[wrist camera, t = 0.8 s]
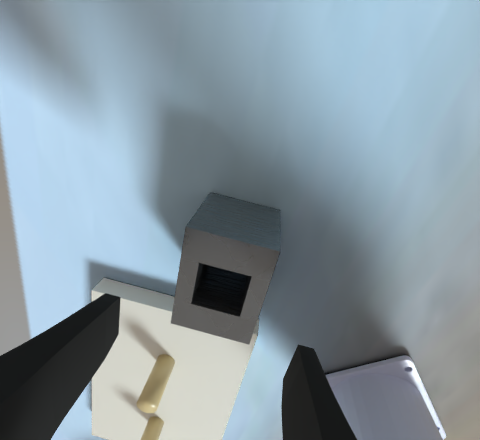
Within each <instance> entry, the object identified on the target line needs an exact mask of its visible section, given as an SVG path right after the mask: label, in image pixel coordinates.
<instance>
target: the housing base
mask: <svg viewBox="0 0 480 440" xmlns="http://www.w3.org/2000/svg"><path fill="white" fill-rule="evenodd" d="M105 293H107V294H111V295H115V296H118V297H121V298H120V317H119V334H118V336H117V338H116V340H115V342H114V344H113V346H112V348H111V349H110V351H109V353H108V355H107V356H106V358H105V360H104V361H103V363H102V364H101V366H100V367H99V369H98V370H97V372H96V373H95V374H94V376H93V377H92V435H94V436H97V437H101V438H104V439H108V440H222V438H223V435H224V432H225V429H226V426H227V423H228V420H229V417H230V415H231V412H232V409H233V406H234V403H235V400H236V397H237V394H238V391H239V388H240V385H241V383H242V380H243V377H244V374H245V371H246V368H247V365H248V362H249V359H250V356H251V353H252V351H253V348H254V345H255V342H256V339H257V336H258V328H259V319H258V320H257V323H256V326H255V329H254V332H253V335H252V338H251V341H250V344H249V345H248V344H245V343H241V342H237V341H234V340H230V339H226V338H223V337H219V336H215V335H212V334H208V333H204V332H201V331H197V330H193V329H189V328H186V327H182V326H178V325H175V324H171V317H172V311H173V305H174V298H175V297H174V296H170V295H167V294H163V293H159V292H155V291H152V290H148V289H144V288H141V287H137V286H133V285H129V284H126V283H122V282H118V281H114V280H111V279H107V278H103V279H102V280H101V281H100V282H99V283H98V284H97V285H96V286H95V287H94V288H93V289H92V301H94V300H96V299H97V298H99V297H100V296H102V295H103V294H105Z"/></svg>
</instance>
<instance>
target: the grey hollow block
mask: <svg viewBox="0 0 480 440" xmlns="http://www.w3.org/2000/svg"><path fill="white" fill-rule="evenodd" d="M279 254H280V210H277V209H273V208H269V207H265V206H261V205H258V204H254V203H250V202H246V201H242V200H238V199H234V198H230V197H227V196H223V195H219V194H215V193H211V192H210V194H209V195H208V196H207V198H206V199H205V201H204V202H203V203H202V205H201V206H200V208H199V209H198V210H197V212H196V213H195V215H194V216H193V217H192V219H191V220H190V222H189V223H188V224H187V226H186V229H185V235H184V241H183V248H182V254H181V260H180V267H179V273H178V279H177V286H176V292H175V298H174V305H173V311H172V317H171V324H175V325H178V326H182V327H186V328H189V329H193V330H197V331H201V332H204V333H208V334H212V335H215V336H219V337H223V338H226V339H230V340H234V341H237V342H241V343H245V344H248V345H249V344H250V341H251V338H252V335H253V332H254V329H255V326H256V323H257V320H258V317H259V314H260V311H261V308H262V305H263V302H264V299H265V296H266V293H267V290H268V287H269V284H270V281H271V278H272V275H273V272H274V269H275V266H276V263H277V260H278V257H279Z"/></svg>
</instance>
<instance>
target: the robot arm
mask: <svg viewBox="0 0 480 440" xmlns="http://www.w3.org/2000/svg"><path fill="white" fill-rule="evenodd" d="M120 298H121V297H118V296H115V295H111V294H107V293H105V294H103V295H102V296H100V297H99V298H97V299H96V300H94V301H92V302H91V303H89V304H88V305H86V306H85V307H83V308H82V309H80V310H79V311H77V312H75V313H74V314H72V315H71V316H69V317H68V318H66V319H64V320H63V321H61V322H59V323H58V324H56V325H55V326H53V327H51V328H50V329H48V330H46V331H45V332H43V333H41V334H39V335H38V336H36V337H34V338H32V339H31V340H29V341H27V342H25V343H24V344H22V345H20V346H18V347H16V348H14V349H12V350H11V351H9V352H7V353H5V354H3V355H1V356H0V440H51V438H52V436H53V435H54V433H55V431H56V430H57V428H58V427H59V425H60V424H61V422H62V420H63V419H64V417H65V416H66V415H67V413H68V412H69V410H70V409H71V407H72V406H73V405H74V403H75V402H76V400H77V399H78V397H79V396H80V395H81V393H82V392H83V390H84V389H85V387H86V386H87V385H88V383H89V382H90V380H91V379H92V377H93V376H94V374H95V373H96V372H97V370H98V369H99V367H100V366H101V364H102V363H103V361H104V360H105V358H106V356H107V355H108V353H109V351H110V349H111V348H112V346H113V344H114V342H115V340H116V338H117V336H118V334H119V317H120ZM282 430H283V440H443V439H445V438H446V433H445V431H444V429H443V427H442V425H441V422H440V420H439V418H438V416H437V413H436V411H435V409H434V407H433V405H432V402H431V400H430V398H429V396H428V394H427V391H426V389H425V387H424V385H423V382H422V380H421V378H420V376H419V374H418V371H417V369H416V367H415V365H414V363H413V361H412V359H411V357H409V356H405V355H404V356H399V357H395V358H391V359H387V360H383V361H379V362H375V363H371V364H367V365H363V366H359V367H355V368H351V369H347V370H343V371H339V372H335V373H331V374H327V375H325V373H324V371H323V369H322V366H321V364H320V362H319V359H318V357H317V355H316V352H315V350H314V349H313V348H309V347H305V346H301V345H298V346H297V349H296V351H295V353H294V355H293V358H292V360H291V362H290V365H289V367H288V369H287V371H286V374H285V376H284V378H283V391H282Z"/></svg>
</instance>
